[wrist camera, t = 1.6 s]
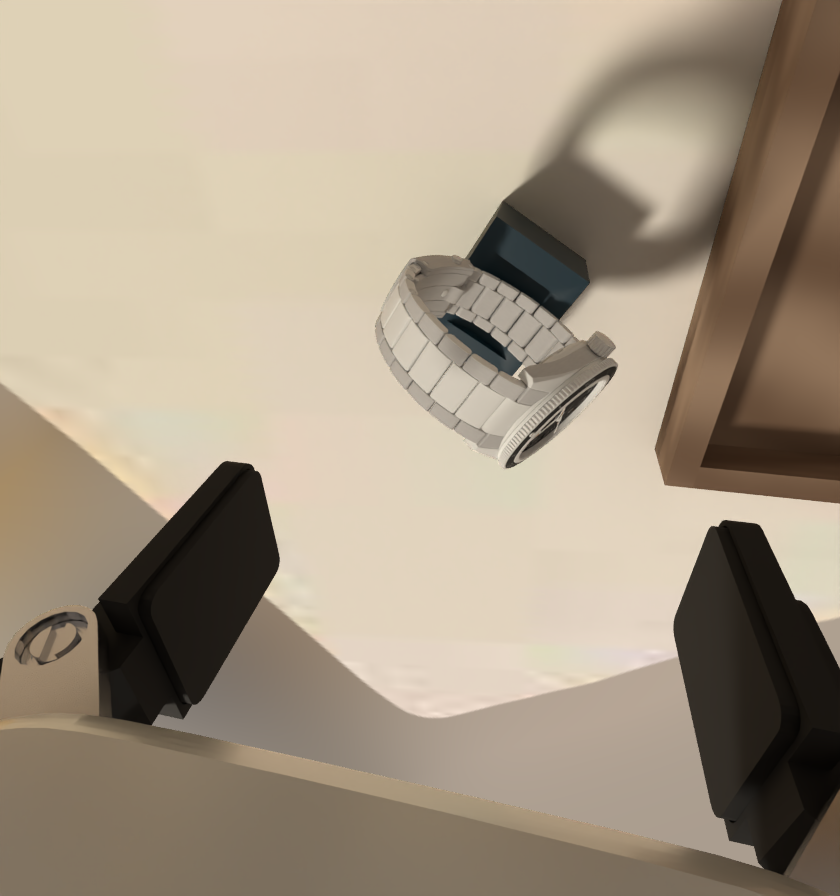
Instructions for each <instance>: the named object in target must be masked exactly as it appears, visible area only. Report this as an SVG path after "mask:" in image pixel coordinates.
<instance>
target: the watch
mask: <svg viewBox="0 0 840 896" xmlns="http://www.w3.org/2000/svg"><path fill="white" fill-rule="evenodd" d="M589 283H590V281H589V276H588V271H587V265H586V260H585V259H583V258H582V257H580V256H579V255H578V254H576V253H575V252H573V251H572V250H571V249H569V248H568V247H567V246H565V245H564V244H562V243H561V242H560V241H558V240H557V239H555V238H554V237H553V236H551V235H550V234H549V233H547V232H546V231H544V230H543V229H542V228H540V227H539V226H537V225H536V224H535V223H533V222H532V221H531V220H529V219H528V218H526V217H525V216H524V215H522V214H521V213H519V212H518V211H517V210H515V209H514V208H513V207H511V206H510V205H508V204H507V203H506V202H504V201H502V203H501V204H500V206H499V207H498V209H497V211H496V212H495V214H494V215H493V217H492V218H491V220H490V221H489V223H488V224H487V226H486V228H485V229H484V231H483V232H482V234H481V235H480V237H479V238H478V240H477V241H476V243H475V245H474V246H473V248H472V249H471V251H470V252H469V254H468V255H467V257H466V258H465V259H463V258H461V257H459V256H456V255H453V256H443V255H430V256H422V257H417V258H413V259H410V260H409V262H408V263H407V265H406V266H405V267H404V269H403V270H402V272H401V273H400V275H399V276H398V278H397V280H396V281H395V283H394V285H393V286H392V288H391V290H390V292H389V294H388V295H387V297H386V299H385V302H384V304H383V306H382V309H381V314H380V316H379V317H378V319H377V321H376V325H375V327H376V329H375V333H376V340H377V344H378V345H379V349H380V352H381V354H382V356H383V358H384V360H385V362H386V364H387V365H388V367H390V371H391V373H392V374H393V376H394V377H395V379H396V380H397V381H398V383H399V384H400V385H401V386H402V388H403V389H405V390H407V389H408V390H407V393H408V394H409V395H410V396H411V397H412V398H413V399H414V400H415V401H416V402H417V403H418V404H419V405H420V406H421V407H422V408H423V409H424V410H425V411H429V409H430V408H431V407H432V408H431V409H430V411H429V413H430V414H431V415H432V416H433V417H434V418H435V419H437V420H438V421H439V422H441V423H442V424H443V425H445V426H446V427H448V428H449V429H451V430H452V429H453V428H454V431H455V432H456V433H457V434H459V435H461V436H462V437H464V438H465V439H464V440H463V441H464V442H465V443H466V444H467V445H468V447H469V448H470V449H472V450H474V451H476V452H478V453H480V454H482V455H485V456H488V457H491V458H494V459H497V460H498V464H499V465H500V466H501V467H502V468H503V469H508V468H511V467H513V466H515V465H517V464H519V463H521V462H522V461H524V460H525V459H527V458H528V457H530V456H531V455H532V454H534V453H535V452H537V451H538V450H539V449H541V448H542V447H543V446H544V445H546V444H547V443H548V442H549V441H551V440H552V439H553V438H554V437H555V436H557V435H558V434H559V433H560V432H561V431H562V430H564V429H565V428H566V427H567V426H568V425H569V424H570V423H571V422H572V421H573V420H574V419H575V418H576V417H578V416H579V415H580V414H581V413H582V412H583V411H584V410H585V409H586V408H587V407H588V405H589V404H590V403H591V402H592V401H593V400H594V399H595V398H596V397H597V396H598V394H599V393H600V392H601V391H602V390H603V389H604V387H605V386H606V385H607V384H608V382H609V381H610V380H611V378H612V377H613V375H614V374H615V372H616V370H617V367H618V364H617V363H616V362H615V361H614V360H613V359H612V358H608V359H607V357H608V356H609V355H610V353H611V352H612V351H613V350H614V349H615V348H616V346H615V345H614V343H613V342H612V341H611V340H610V339H609V338H608V337H607V336H606V335H604V334H603V333H601V332H597V331H596V332H595V333H594V334H593V335H592V336H591V337H590V338H589V340H588V341H584V340H581V341H579V340H578V339H577V338H576V337H573V336H574V334H573V333H572V332H571V331H570V330H569V329H568V328H567V327H566V326H564V325H563V324H562V323H561V322H560V321H558V320H559V319H560V318H561V317H562V316H563V314H564V313H565V312H566V311H567V310H568V308H569V307H570V306H571V305H572V304H573V302H574V301H575V300H576V299H577V298H578V296H579V295H580V294H581V293H582V292H583V290H584V289H585V288H586V287H587V286H588V284H589ZM465 361H466V362H465ZM452 362H453V363H452ZM464 363H465V364H464ZM451 364H452V365H451ZM522 364H523V365H524V367H525V368H524V369H523V370H522V371H521V372H520V374H519V375H518V376H519V377H520V378H521V380H518V379H516V378H514V377H512V376H513V374H514V373H515V372H516V371H517V370H518V368H519V367H520V366H521V365H522ZM450 365H451V366H450ZM449 367H450V368H449ZM448 368H449V369H448ZM447 369H448V370H447ZM446 371H447V372H446ZM445 372H446V373H445ZM444 373H445V374H444ZM443 375H444V376H443ZM442 376H443V377H442ZM441 378H442V379H441ZM440 379H441V380H440ZM439 380H440V381H439ZM479 381H480V382H479ZM438 382H439V383H438ZM478 382H479V383H478ZM437 383H438V384H437ZM436 384H437V385H436ZM435 386H436V387H435ZM475 386H476V387H475ZM434 387H435V388H434ZM433 389H434V390H433ZM432 390H433V391H432ZM471 391H472V392H471ZM468 395H469V396H468ZM467 396H468V397H467ZM464 400H465V401H464ZM435 401H436V402H435ZM463 401H464V402H463ZM434 403H435V404H434ZM433 404H434V405H433ZM432 405H433V406H432ZM460 405H461V406H460ZM459 406H460V407H459ZM457 423H458V424H457Z"/></svg>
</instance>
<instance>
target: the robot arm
mask: <svg viewBox="0 0 840 896" xmlns="http://www.w3.org/2000/svg"><path fill="white" fill-rule="evenodd" d="M279 562H280V557H279V552H278V548H277V543H276V539H275V535H274V530H273V526H272V522H271V517H270V513H269V509H268V504H267V500H266V496H265V491H264V487H263V483H262V478H261V475H260V473H259V472H258V471H255V470H254V467H253V466H252V465H251V464H247V463H238V462H230V461H226V462H223V463H222V464H220V466H219V467H218V468H217V469H216V470H215V471H214V472H213V473H212V474H211V475H210V477H209V478H208V479H207V480H206V481H205V482H204V483H203V484H202V485H201V486H200V488H199V489H198V490H197V491H196V492H195V493H194V494H193V495H192V496H191V497H190V498H189V500H188V501H187V502H186V503H185V504H184V505H183V506H182V507H181V508H180V509H179V511H178V512H177V513H176V514H175V515H174V516H173V517H172V518H171V519H170V520H169V522H168V523H167V524H166V525H165V526H164V527H163V528H162V529H161V530H160V532H159V533H158V534H157V535H156V536H155V537H154V538H153V539H152V540H151V541H150V543H148V545H147V546H146V547H145V548H144V549H143V550H142V551H141V552H140V553H139V555H138V556H137V557H136V558H135V559H134V560H133V561H132V562H131V563H130V564H129V565H128V567H127V568H126V569H125V570H124V571H123V572H122V573H121V574H120V575H119V576H118V578H117V579H116V580H115V581H114V582H113V583H112V584H111V585H110V586H109V588H107V590H106V591H105V592H104V593H103V594H102V595H101V596H100V597H99V598H98V599H99V601H100V602H99V603H98V604H97V605H96V606H95V608H94V609H93V610H91V609H90V608H88V607H84V606H81V605H69V606H68V605H67V606H63V607H59V608H55V609H52V610H50V611H48V612H45V613H43V614H41V615H39V616H37V617H36V618H34V619H33V620H31V621H29V622H28V623H26V624H25V625H24V626H23V627H22V628H21V629H20V630H19V631H18V632H16V633H15V635H14V636H13V638H12V639H11V640H10V642H9V643H8V645H7V647H6V650H5V653H4V657H3V658H1V659H0V896H840V668H839V667H838V664H837V662H836V660H835V658H834V656H833V654H832V652H831V650H830V648H829V646H828V644H827V642H826V640H825V638H824V636H823V634H822V632H821V630H820V628H819V626H818V624H817V622H816V620H815V618H814V616H813V614H812V612H811V611H810V609H809V607H808V606H807V605H806V604H805V603H803V602H802V601H799V600H796V599H795V597H794V595H793V593H792V591H791V589H790V587H789V585H788V583H787V581H786V578H785V576H784V574H783V572H782V570H781V568H780V566H779V564H778V562H777V559H776V557H775V555H774V553H773V551H772V549H771V547H770V545H769V543H768V540H767V538H766V536H765V534H764V532H763V530H762V528H761V527H760V525H758V524H755V523H746V522H738V521H729V520H724V521H722V522H721V523H720V525H719V527H715V526H711V527H710V528H709V530H708V532H707V535H706V537H705V540H704V542H703V545H702V548H701V550H700V553H699V555H698V558H697V561H696V563H695V566H694V568H693V571H692V574H691V576H690V579H689V581H688V584H687V587H686V589H685V592H684V594H683V597H682V600H681V602H680V605H679V607H678V610H677V613H676V615H675V619H674V637H675V642H676V647H677V651H678V656H679V660H680V665H681V669H682V674H683V679H684V683H685V688H686V692H687V697H688V701H689V706H690V711H691V715H692V720H693V724H694V728H695V733H696V738H697V743H698V747H699V752H700V757H701V761H702V766H703V770H704V775H705V780H706V784H707V789H708V793H709V798H710V802H711V806H712V810H713V812H714V814H715V815H716V817H718V818H723V819H724V821H725V825H726V829H727V833H728V838H729V841H733V842H737V843H742V844H746V845H751V846H754V848H755V852H756V856H757V859H758V863H759V864H760V865H761V866H762V867H763V868H764V869H762V868H759V867H756V866H752V865H749V864H745V863H742V862H739V861H735V860H732V859H729V858H725V857H722V856H718V855H715V854H711V853H707V852H703V851H699V850H694V849H691V848H686V847H683V846H679V845H675V844H671V843H666V842H663V841H658V840H655V839H651V838H647V837H643V836H638V835H634V834H630V833H627V832H623V831H619V830H614V829H610V828H606V827H602V826H597V825H593V824H588V823H584V822H580V821H575V820H571V819H567V818H563V817H558V816H554V815H549V814H545V813H541V812H537V811H532V810H528V809H524V808H520V807H515V806H511V805H507V804H502V803H498V802H494V801H489V800H485V799H481V798H476V797H472V796H468V795H463V794H459V793H454V792H450V791H445V790H441V789H437V788H433V787H428V786H424V785H419V784H415V783H411V782H406V781H402V780H397V779H393V778H389V777H384V776H380V775H375V774H371V773H366V772H362V771H357V770H353V769H348V768H344V767H340V766H335V765H331V764H327V763H322V762H318V761H313V760H309V759H304V758H300V757H295V756H291V755H286V754H282V753H277V752H272V751H268V750H263V749H259V748H254V747H250V746H245V745H241V744H236V743H231V742H227V741H223V740H218V739H213V738H209V737H204V736H200V735H196V734H191V733H186V732H181V731H175V730H171V729H166V728H161V727H156V726H152V724H153V722H154V721H155V719H156V717H157V716H158V714H161V715H165V716H170V717H174V718H179V719H184V717H185V716H186V714H187V712H188V711H189V709H190V707H191V706H192V704H193V705H195V704H198V703H199V702H200V701H201V700H202V698H203V697H204V695H205V694H206V692H207V690H208V688H209V687H210V685H211V683H212V681H213V680H214V678H215V677H216V675H217V673H218V671H219V670H220V668H221V666H222V665H223V663H224V661H225V660H226V658H227V656H228V654H229V653H230V651H231V649H232V648H233V646H234V644H235V642H236V641H237V639H238V637H239V636H240V634H241V632H242V630H243V629H244V627H245V625H246V624H247V622H248V620H249V619H250V617H251V615H252V614H253V612H254V610H255V608H256V607H257V605H258V603H259V601H260V600H261V598H262V596H263V595H264V593H265V591H266V590H267V588H268V586H269V585H270V583H271V581H272V579H273V578H274V576H275V574H276V572H277V570H278V567H279Z"/></svg>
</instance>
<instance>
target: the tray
mask: <svg viewBox="0 0 840 896" xmlns="http://www.w3.org/2000/svg"><path fill="white" fill-rule="evenodd" d="M655 451H656V455H657V459H658V462H659V466H660V469H661V473H662V477H663V480H664V484H665V485H668V486H678V487H687V488H697V489H706V490H716V491H725V492H735V493H745V494H754V495H764V496H773V497H783V498H792V499H802V500H812V501H821V502H831V503H840V0H782V4H781V7H780V11H779V14H778V18H777V21H776V25H775V28H774V32H773V35H772V39H771V42H770V46H769V50H768V53H767V57H766V60H765V64H764V67H763V71H762V74H761V78H760V81H759V85H758V88H757V92H756V95H755V99H754V102H753V106H752V109H751V113H750V116H749V120H748V123H747V127H746V130H745V134H744V137H743V141H742V144H741V148H740V151H739V155H738V158H737V162H736V165H735V169H734V172H733V176H732V179H731V183H730V186H729V190H728V193H727V197H726V201H725V204H724V208H723V211H722V215H721V218H720V222H719V225H718V229H717V232H716V236H715V239H714V243H713V246H712V250H711V253H710V257H709V260H708V264H707V267H706V271H705V274H704V278H703V281H702V285H701V288H700V292H699V295H698V299H697V302H696V306H695V309H694V313H693V316H692V320H691V323H690V327H689V330H688V334H687V337H686V341H685V344H684V348H683V352H682V355H681V359H680V362H679V366H678V369H677V373H676V376H675V380H674V383H673V387H672V390H671V394H670V397H669V401H668V404H667V408H666V411H665V415H664V418H663V422H662V425H661V429H660V432H659V436H658V439H657V443H656V446H655Z"/></svg>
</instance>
